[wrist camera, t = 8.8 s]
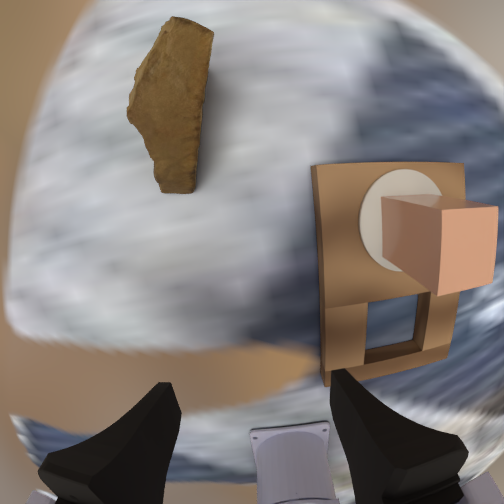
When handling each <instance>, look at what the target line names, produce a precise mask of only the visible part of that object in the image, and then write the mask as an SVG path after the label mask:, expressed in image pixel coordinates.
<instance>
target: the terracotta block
mask: <svg viewBox="0 0 504 504" xmlns="http://www.w3.org/2000/svg"><path fill="white" fill-rule="evenodd" d="M381 212H382V257H383V258H385V259H386V260H388V261H389V262H391V263H392V264H393V265H395V266H396V267H398V268H399V269H401V270H402V271H403V272H405V273H406V274H408V275H409V276H410V277H412V278H413V279H414V280H416V281H417V282H419V283H420V284H421V285H423V286H424V287H425V288H427V289H428V290H429V291H431V292H432V293H433V294H435V295H436V296H441V295H446V294H450V293H454V292H459V291H463V290H467V289H471V288H475V287H479V286H483V285H487V284H490V283H492V281H493V274H494V266H495V256H496V245H497V229H498V206H493V205H489V204H484V203H479V202H474V201H468V200H463V199H457V198H452V197H446V196H440V195H434V194H418V195H399V196H382V197H381Z"/></svg>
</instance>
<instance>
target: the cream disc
mask: <svg viewBox="0 0 504 504" xmlns="http://www.w3.org/2000/svg"><path fill="white" fill-rule="evenodd" d="M418 194H434V195H440V196H442V194H441V192H440V191H439V189H438V187H437V186H436V185H435V183H434V182H433V181H432V180H431V179H430V178H428V177H427V176H426V175H424V174H422V173H420V172H418V171H415V170H409V169H398V170H393V171H389V172H387V173H385V174H383V175H381V176H380V177H379V178H377V179H376V180H375V181H374V182H373V183H372V184H371V185H370V187H369V188H368V190H367V191H366V193H365V195H364V197H363V199H362V202H361V205H360V209H359V215H358V228H359V234H360V238H361V241H362V244H363V246H364V248H365V250H366V251H367V253H368V254H369V255H370V256H371V257H372V258H373V259H374V260H375V261H376V262H377V263H379V264H380V265H381V266H383V267H385V268H387V269H389V270H393V271H400V272H403V271H402V270H401V269H399V268H398V267H396V266H395V265H393V264H392V263H391V262H389V261H388V260H386V259H385V258H383V257H382V212H381V197H382V196H399V195H418Z"/></svg>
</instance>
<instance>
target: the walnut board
mask: <svg viewBox="0 0 504 504" xmlns="http://www.w3.org/2000/svg"><path fill="white" fill-rule="evenodd" d="M398 169H409V170H415V171H418V172H420V173H422V174H424V175H426V176H427V177H428V178H430V179H431V180H432V181H433V182H434V183H435V185H436V186H437V187H438V189H439V191H440V192H441V194H442V196H446V197H452V198H457V199H463V200H465V176H464V163H445V162H369V163H343V164H325V165H314V166H311V176H312V186H313V197H314V208H315V221H316V235H317V251H318V270H319V293H320V337H321V376H322V380H323V383H324V386H325V387H329V386H331V370H336V369H342V368H345V369H346V370H347V371H348V372H349V373H350V374H351V375H352V376H353V377H354V378H355V379H356V380H357V381H362V380H366V379H371V378H376V377H380V376H384V375H389V374H393V373H397V372H401V371H405V370H408V369H412V368H416V367H419V366H423V365H426V364H429V363H433V362H436V361H439V360H442V359H445V358H447V356H448V352H449V347H450V343H451V339H452V334H453V329H454V324H455V319H456V313H457V307H458V301H459V294H460V291H459V292H454V293H450V294H446V295H441V296H436V295H435V294H433V293H432V292H431V291H429V290H428V289H427V288H425V287H424V286H423V285H421V284H420V283H419V282H417V281H416V280H414V279H413V278H412V277H410V276H409V275H408V274H406V273H405V272H400V271H393V270H389V269H387V268H385V267H383V266H381V265H380V264H379V263H377V262H376V261H375V260H374V259H373V258H372V257H371V256H370V255H369V254H368V253H367V251H366V250H365V248H364V246H363V244H362V241H361V238H360V234H359V228H358V215H359V209H360V205H361V202H362V199H363V197H364V195H365V193H366V191H367V190H368V188H369V187H370V185H371V184H372V183H373V182H374V181H375V180H376V179H377V178H379V177H380V176H381V175H383V174H385V173H387V172H389V171H393V170H398ZM413 294H418V304H417V313H416V321H415V328H414V335H413V340H410V341H406V342H401V343H397V344H392V345H388V346H383V347H378V348H373V349H368V350H365V342H366V328H367V310H368V302H374V301H380V300H386V299H392V298H397V297H403V296H408V295H413Z"/></svg>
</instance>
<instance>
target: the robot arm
mask: <svg viewBox="0 0 504 504" xmlns="http://www.w3.org/2000/svg"><path fill="white" fill-rule="evenodd" d="M330 407H331V411H332V416H333V421H334V424H335V426H336V429H337V432H338V435H339V438H340V440H341V443H342V446H343V449H344V452H345V455H346V457H347V461H348V464H349V469H350V474H351V478H352V484H353V489H354V495H355V501H356V504H504V497H503V495H502V494H501V492H500V490H499V488H498V487H497V485H496V483H495V482H494V480H493V478H492V477H491V475H490V473H489V472H485V473H484V474H482V475H480V476H478V477H477V478H475V479H473V480H471V481H469V482H468V483H466V484H465V485H463V486H462V487H461V488H460V486H459V484H458V482H459V481H460V478H459V476H458V474H457V473H458V472H459V470H460V469H461V467H462V466H463V464H464V463H465V461H466V459H467V457H468V453H469V452H468V450H467V448H466V447H465V445H464V443H463V442H462V440H461V439H460V438H459V437H458V435H454V434H449V433H445V432H441V431H437V430H434V429H431V428H428V427H425V426H423V425H420V424H418V423H416V422H414V421H412V420H409V419H407V418H405V417H404V416H402V415H400V414H398V413H397V412H395V411H393V410H392V409H390V408H389V407H387V406H386V405H385V404H383V403H382V402H381V401H379V400H378V399H377V398H376V397H374V396H373V395H372V394H371V393H370V392H369V391H368V390H366V389H365V388H364V387H363V386H362V385H361V384H360V383H359V382H358V381H357V380H356V379H355V378H354V377H353V376H352V375H351V374H350V373H349V372H348V371H347V370H346V369H345V368H342V369H336V370H331V386H330ZM181 414H182V413H181V410H180V407H179V404H178V402H177V399H176V396H175V393H174V390H173V387H172V384H171V383H170V382H159V383H158V384H156V385H155V386H154V387H153V388H152V389H151V390H150V391H149V393H147V394H146V395H145V396H144V397H143V398H142V399H141V400H140V401H139V402H138V403H137V404H136V405H135V406H134V407H133V408H132V409H131V410H129V411H128V412H127V413H126V414H125V415H124V416H122V417H121V418H120V419H119V420H118V421H116V422H115V423H114V424H112V425H111V426H109V427H108V428H106V429H105V430H103V431H102V432H100V433H98V434H96V435H95V436H93V437H91V438H89V439H87V440H85V441H83V442H81V443H79V444H76V445H74V446H71V447H68V448H66V449H62V450H59V451H55V452H52V453H48V455H47V456H46V458H45V460H44V461H43V463H42V465H41V466H40V468H39V470H38V475H39V477H40V479H41V480H42V481H43V482H44V483H45V484H46V485H47V486H48V487H49V488H50V490H52V492H54V493H55V494H56V495H57V496H58V498H57V500H56V501H55V500H53V499H52V498H50V497H48V496H46V495H43V494H41V493H39V492H37V491H35V490H33V491H32V493H31V495H30V496H29V498H28V500H27V502H26V504H163V497H164V488H165V482H166V475H167V471H168V467H169V463H170V460H171V457H172V453H173V450H174V447H175V443H176V440H177V436H178V433H179V428H180V422H181ZM329 430H330V425H329V423H328V422H320V423H314V424H307V425H299V426H291V427H282V428H271V429H258V430H252V431H250V440H251V445H252V449H253V454H254V459H255V464H256V468H257V504H340V503H339V499H336V495H335V491H334V486H333V481H332V476H331V472H330V467H329V463H328V458H327V451H328V441H329Z"/></svg>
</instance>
